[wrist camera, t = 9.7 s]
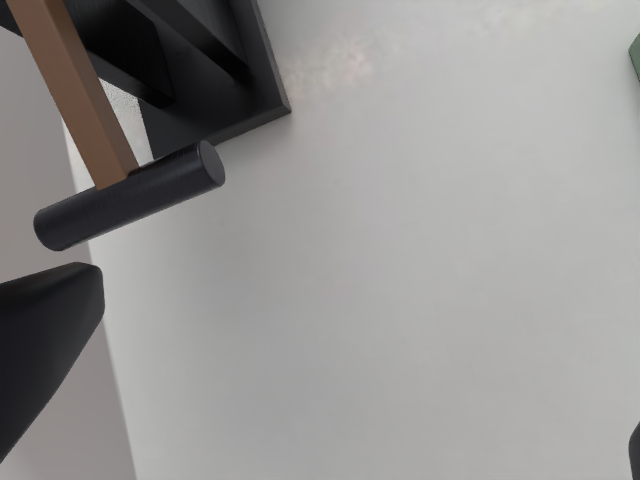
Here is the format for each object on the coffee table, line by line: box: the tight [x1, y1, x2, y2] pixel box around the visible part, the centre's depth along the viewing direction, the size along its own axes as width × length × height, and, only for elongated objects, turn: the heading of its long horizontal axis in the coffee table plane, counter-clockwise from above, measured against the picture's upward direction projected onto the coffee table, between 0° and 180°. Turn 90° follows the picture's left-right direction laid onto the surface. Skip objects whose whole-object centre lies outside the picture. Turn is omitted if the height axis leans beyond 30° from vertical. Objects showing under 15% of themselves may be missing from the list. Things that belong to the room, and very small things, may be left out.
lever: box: [6, 0, 225, 251], centre depth 15 cm, size 12×6×2 cm, turn 18°
